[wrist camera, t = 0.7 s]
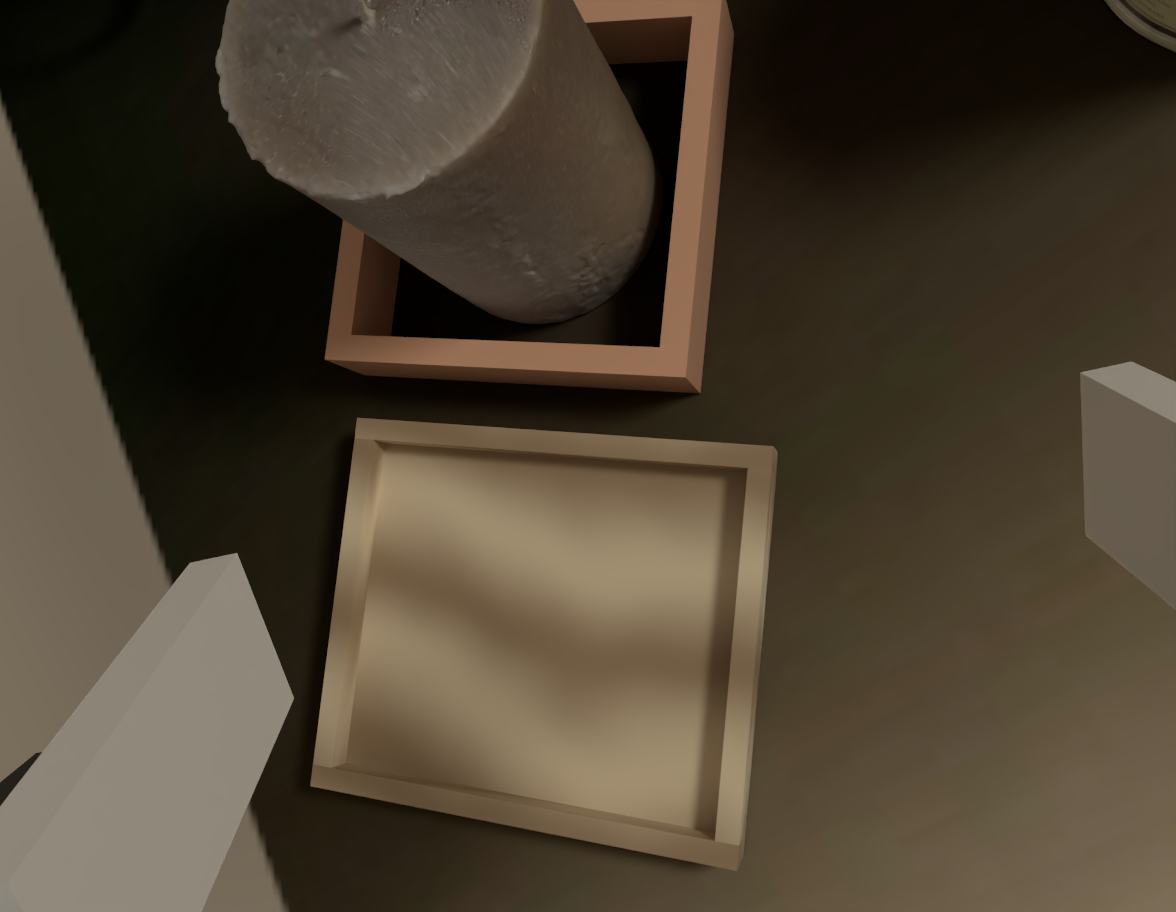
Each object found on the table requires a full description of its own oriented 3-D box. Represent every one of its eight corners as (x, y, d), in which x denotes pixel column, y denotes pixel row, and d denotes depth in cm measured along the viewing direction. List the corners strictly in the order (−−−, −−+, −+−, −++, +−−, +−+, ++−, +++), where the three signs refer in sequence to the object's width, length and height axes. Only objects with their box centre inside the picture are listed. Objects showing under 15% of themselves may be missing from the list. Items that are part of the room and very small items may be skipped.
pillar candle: (616, 51, 38) (455, -265, 23) (701, 268, 36) (581, 64, 21) (406, 159, 40) (143, -70, 26) (474, 368, 38) (230, 245, 24)
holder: (405, 52, 40) (370, 12, 38) (734, 33, 36) (722, -13, 34) (364, 375, 39) (324, 359, 36) (700, 393, 35) (685, 377, 32)
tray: (379, 424, 39) (357, 417, 37) (778, 452, 34) (773, 446, 32) (335, 776, 37) (310, 786, 36) (743, 855, 33) (736, 871, 31)
